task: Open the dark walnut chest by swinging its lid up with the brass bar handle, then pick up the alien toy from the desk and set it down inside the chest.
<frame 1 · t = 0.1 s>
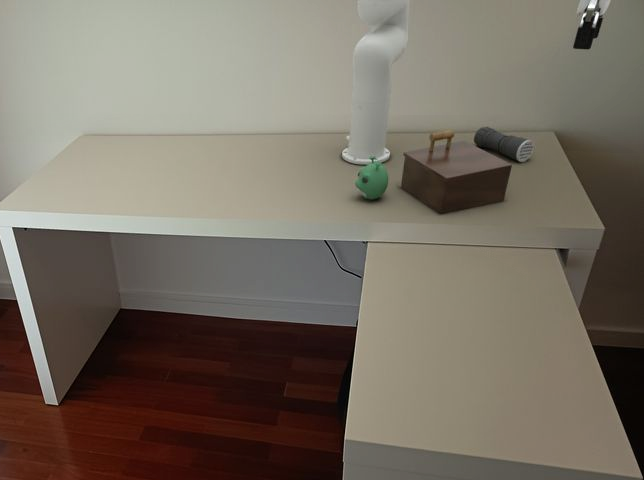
hand: (585, 43, 136), 31 cm above the table, tool pointing down, fingers open, 9 cm apart
alien toy: (369, 199, 156), on the table
lid: (457, 151, 149), point 10 cm above the table, hinge at 0.0°
chest: (450, 193, 154), on the table
flashlight: (500, 154, 171), on the table
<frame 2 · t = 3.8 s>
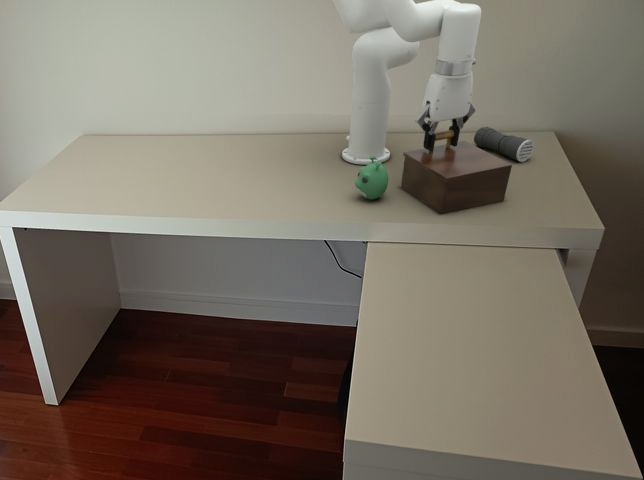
hand: (440, 146, 154), 9 cm above the table, tool pointing down, fingers closed on lid, 5 cm apart
lid: (457, 151, 149), point 10 cm above the table, hinge at 0.0°, touching gripper
everything else where it was.
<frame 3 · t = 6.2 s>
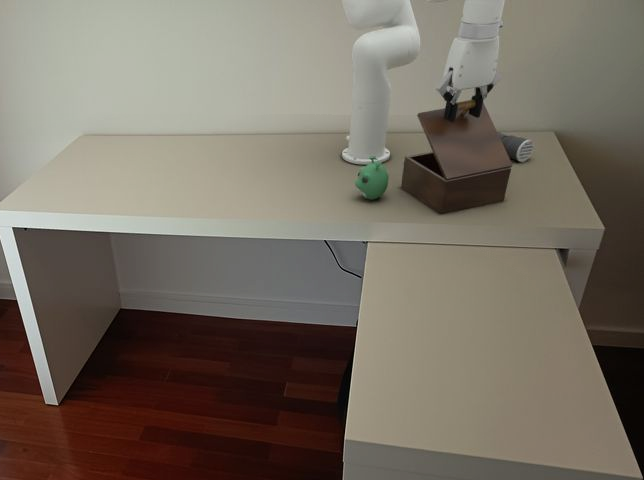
hand: (461, 117, 144), 18 cm above the table, tool pointing down, fingers closed on lid, 5 cm apart
lid: (469, 134, 143), point 15 cm above the table, hinge at 37.0°, touching gripper
everything else where it was.
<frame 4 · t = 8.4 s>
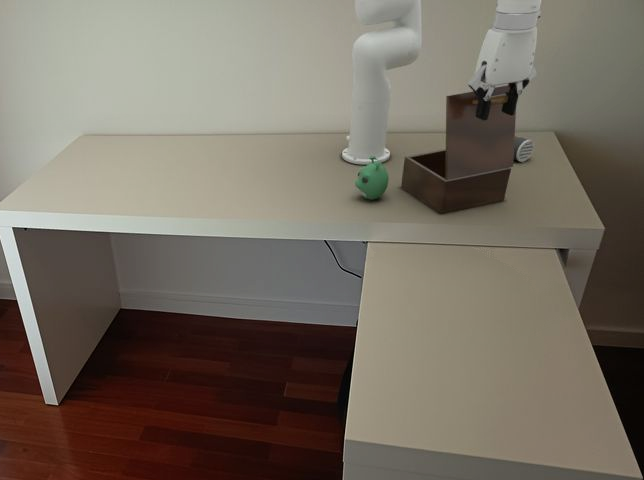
hand: (494, 115, 135), 21 cm above the table, tool pointing down, fingers closed on lid, 5 cm apart
lid: (487, 132, 138), point 17 cm above the table, hinge at 75.2°, touching gripper
everything else where it was.
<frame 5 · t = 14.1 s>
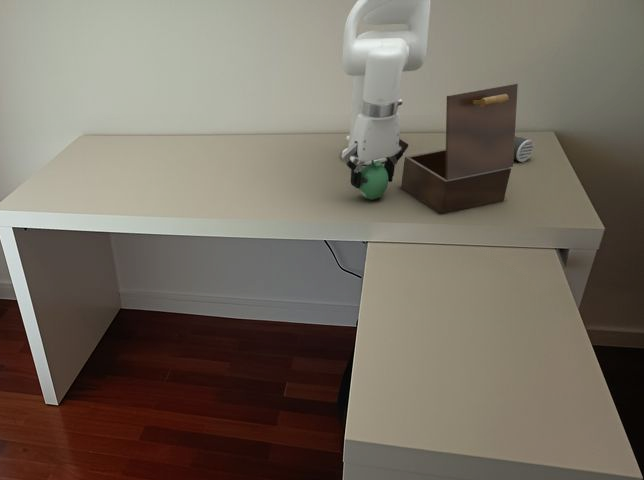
hand: (371, 182, 154), 4 cm above the table, tool pointing down, fingers closed on alien toy, 7 cm apart
alien toy: (369, 199, 156), on the table, touching gripper
lid: (487, 132, 138), point 17 cm above the table, hinge at 75.5°
everything else where it was.
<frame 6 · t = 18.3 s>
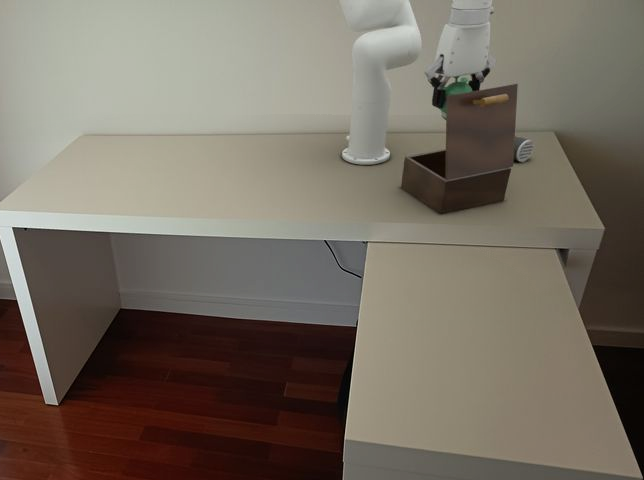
hand: (454, 103, 143), 21 cm above the table, tool pointing down, fingers closed on alien toy, 7 cm apart
alien toy: (450, 122, 146), point 17 cm above the table, touching gripper
everything else where it was.
when the fingers open (5 cm above the table, at t = 22.5 s): alien toy stays where it is, resting on chest.
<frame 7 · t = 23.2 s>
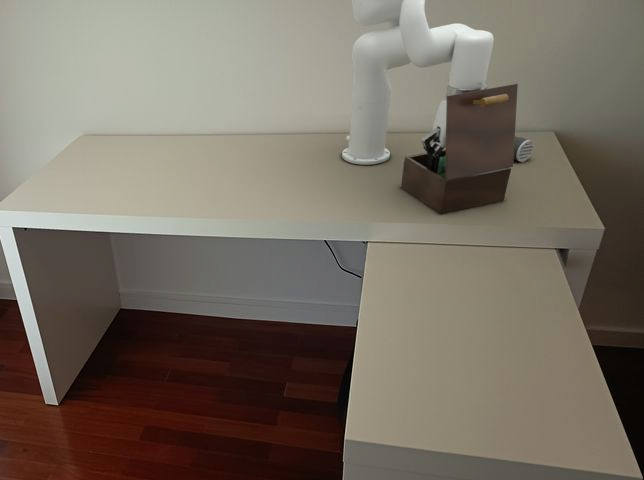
hand: (450, 167, 152), 6 cm above the table, tool pointing down, fingers open, 9 cm apart
alien toy: (447, 189, 155), point 1 cm above the table, touching chest
everything else where it was.
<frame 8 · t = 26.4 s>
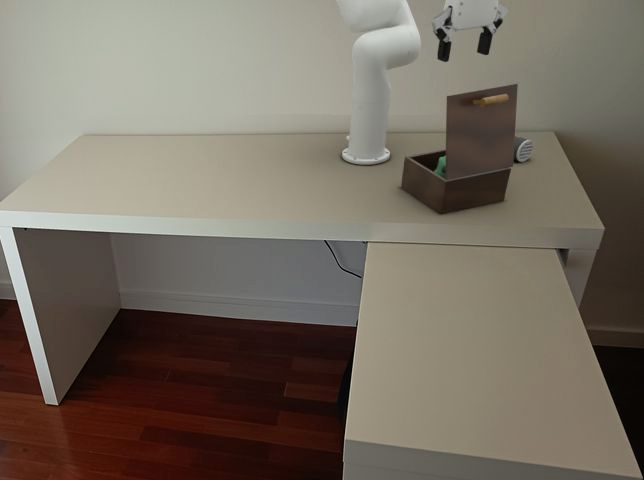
hand: (462, 57, 138), 30 cm above the table, tool pointing down, fingers open, 9 cm apart
nothing on the table moved.
at the end: lid at +76° (first picture: +0°); alien toy inside the target area in the chest (1.5 cm from its centre), point 0.6 cm above the chest's base; alien toy tilted 0° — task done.
